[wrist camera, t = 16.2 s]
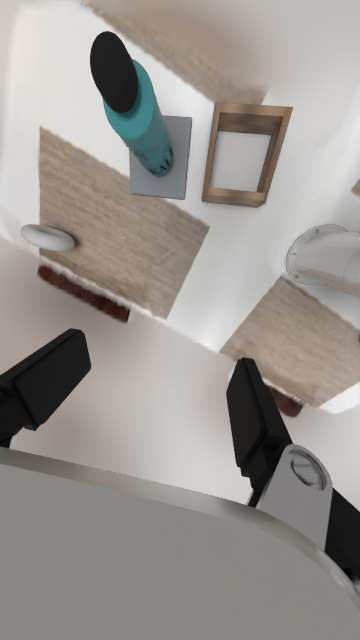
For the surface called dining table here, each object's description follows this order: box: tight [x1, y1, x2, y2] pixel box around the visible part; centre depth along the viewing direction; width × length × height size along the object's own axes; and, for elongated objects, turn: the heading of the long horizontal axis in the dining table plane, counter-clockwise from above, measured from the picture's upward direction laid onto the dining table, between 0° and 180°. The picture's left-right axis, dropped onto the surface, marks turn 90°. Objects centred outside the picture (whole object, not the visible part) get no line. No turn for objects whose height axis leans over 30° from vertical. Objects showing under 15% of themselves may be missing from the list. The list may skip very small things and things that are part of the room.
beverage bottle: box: [90, 31, 174, 176], centre depth 23 cm, size 6×7×20 cm
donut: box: [21, 224, 75, 251], centre depth 38 cm, size 10×3×10 cm, turn 69°
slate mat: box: [129, 115, 192, 200], centre depth 32 cm, size 12×12×1 cm
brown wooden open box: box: [202, 102, 293, 207], centre depth 29 cm, size 12×12×7 cm
